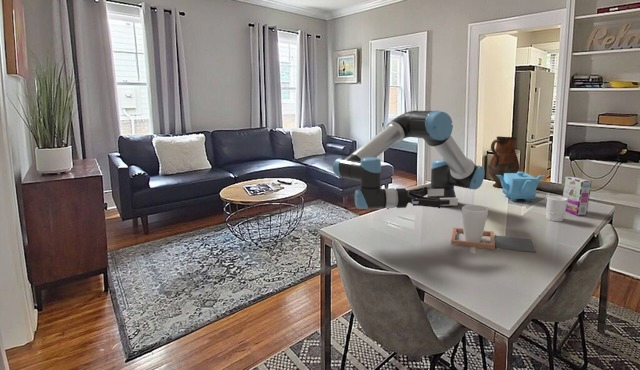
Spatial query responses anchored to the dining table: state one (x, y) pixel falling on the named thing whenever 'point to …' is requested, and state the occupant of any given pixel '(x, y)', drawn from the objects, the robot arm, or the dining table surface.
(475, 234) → the foam cup
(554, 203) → the white cup
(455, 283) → the dining table surface
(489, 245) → the terracotta frame
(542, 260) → the dining table surface
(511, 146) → the pitcher
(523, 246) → the rubber mat
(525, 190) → the teakettle
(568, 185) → the candy bar box
